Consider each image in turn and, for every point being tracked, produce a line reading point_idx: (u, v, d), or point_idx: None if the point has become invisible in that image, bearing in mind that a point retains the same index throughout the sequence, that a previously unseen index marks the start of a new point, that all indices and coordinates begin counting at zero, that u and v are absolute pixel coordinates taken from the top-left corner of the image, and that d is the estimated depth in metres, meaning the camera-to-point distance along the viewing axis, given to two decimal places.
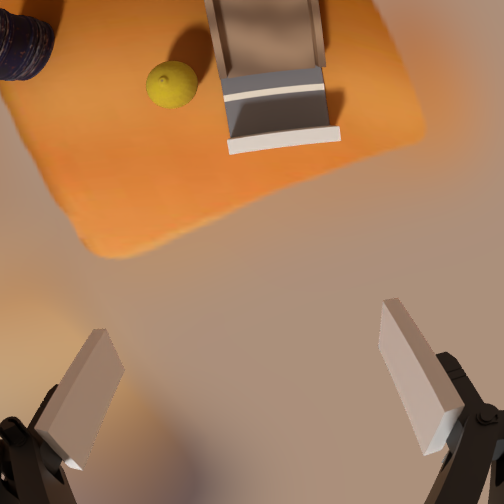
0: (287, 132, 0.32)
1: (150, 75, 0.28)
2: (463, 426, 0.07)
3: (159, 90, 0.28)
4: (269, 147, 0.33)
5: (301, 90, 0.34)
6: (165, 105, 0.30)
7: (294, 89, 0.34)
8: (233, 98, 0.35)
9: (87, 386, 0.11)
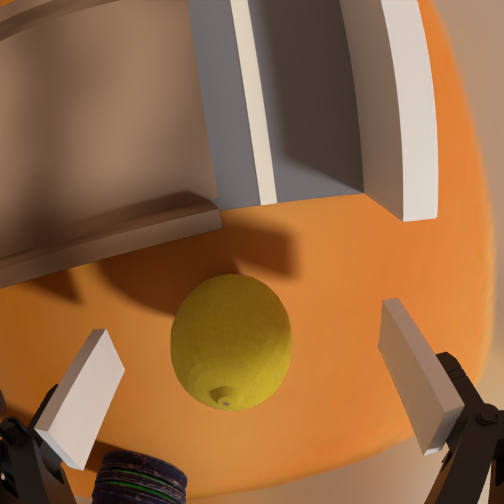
0: (394, 52, 0.09)
1: None
2: (463, 426, 0.07)
3: (251, 400, 0.11)
4: (432, 109, 0.09)
5: (248, 22, 0.12)
6: (287, 368, 0.13)
7: (246, 37, 0.12)
8: (270, 181, 0.15)
9: (87, 386, 0.11)
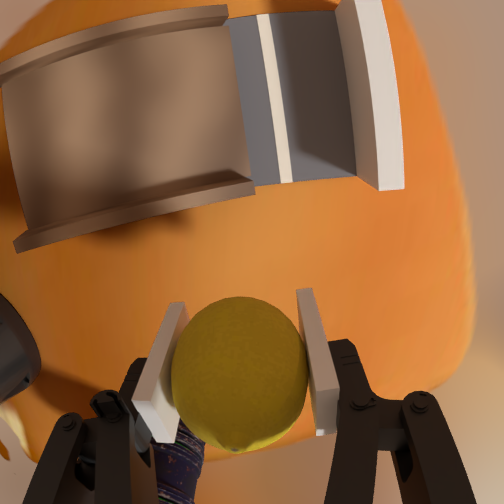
0: (370, 76, 0.14)
1: None
2: None
3: (263, 443, 0.10)
4: (398, 113, 0.15)
5: (272, 50, 0.18)
6: (303, 405, 0.11)
7: (271, 61, 0.18)
8: (288, 166, 0.21)
9: None
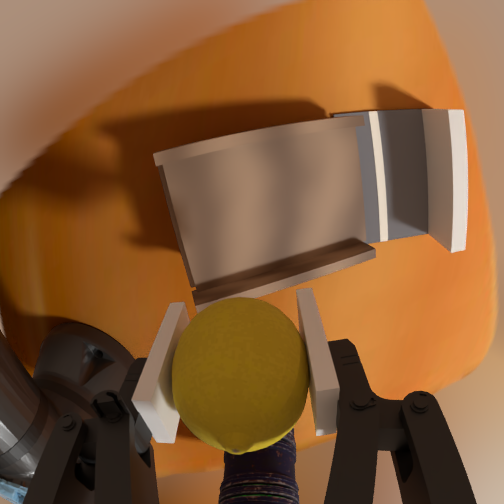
0: (454, 180, 0.21)
1: None
2: None
3: (264, 444, 0.10)
4: (466, 203, 0.22)
5: (379, 142, 0.25)
6: (304, 405, 0.11)
7: (378, 152, 0.25)
8: (385, 229, 0.28)
9: None
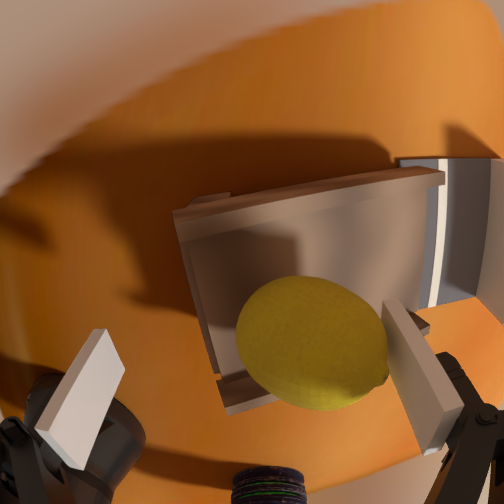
0: None
1: (340, 407, 0.11)
2: (463, 426, 0.07)
3: None
4: None
5: (445, 197, 0.20)
6: None
7: (442, 208, 0.20)
8: (436, 295, 0.23)
9: (87, 386, 0.11)
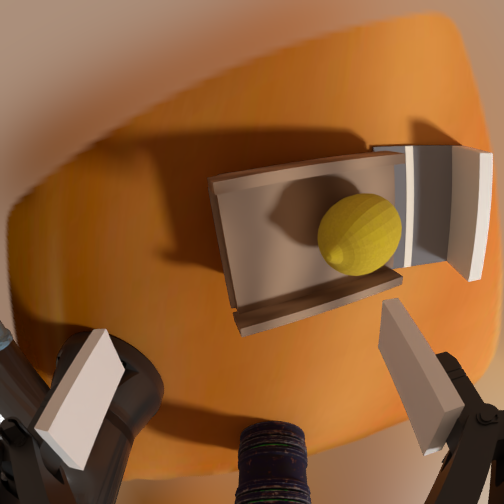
0: (478, 217, 0.22)
1: None
2: (463, 426, 0.07)
3: None
4: (486, 238, 0.23)
5: (412, 176, 0.26)
6: None
7: (410, 184, 0.26)
8: (409, 256, 0.29)
9: (87, 386, 0.11)
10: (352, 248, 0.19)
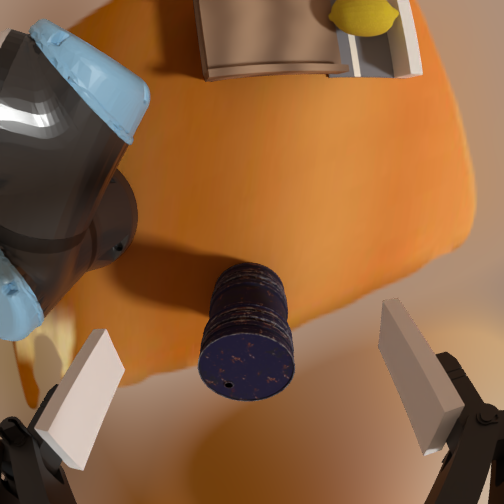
0: (402, 22, 0.25)
1: None
2: (463, 426, 0.07)
3: (334, 20, 0.27)
4: (416, 39, 0.26)
5: None
6: (349, 18, 0.25)
7: None
8: (358, 68, 0.32)
9: (87, 386, 0.11)
10: None
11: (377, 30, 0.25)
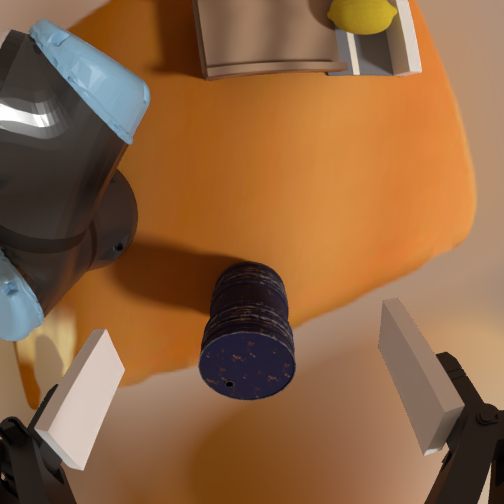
0: (401, 19, 0.25)
1: None
2: (463, 426, 0.07)
3: (332, 19, 0.27)
4: (415, 37, 0.26)
5: None
6: (348, 16, 0.25)
7: None
8: (357, 66, 0.32)
9: (87, 386, 0.11)
10: None
11: (375, 28, 0.25)
